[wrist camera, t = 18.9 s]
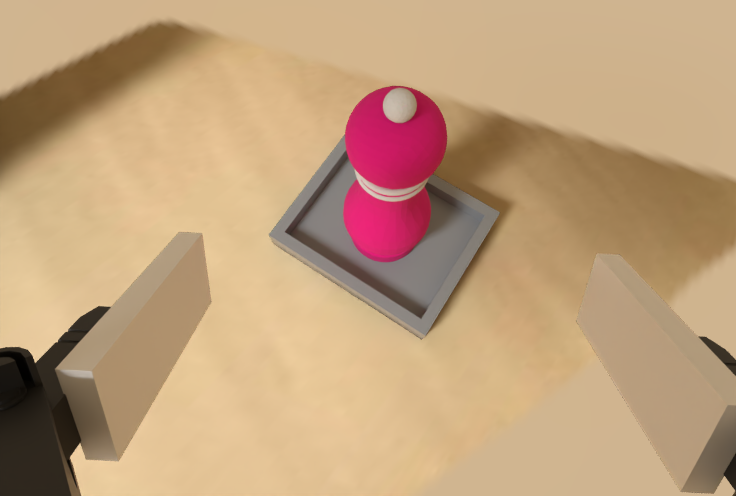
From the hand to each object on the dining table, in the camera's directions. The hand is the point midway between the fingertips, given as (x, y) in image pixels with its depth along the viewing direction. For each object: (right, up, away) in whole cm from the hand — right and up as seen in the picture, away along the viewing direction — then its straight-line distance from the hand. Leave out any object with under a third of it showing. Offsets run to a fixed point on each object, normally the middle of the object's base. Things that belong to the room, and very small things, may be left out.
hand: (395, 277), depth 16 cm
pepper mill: (+1, +3, +27) cm, 27 cm away
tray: (+1, +2, +28) cm, 28 cm away
